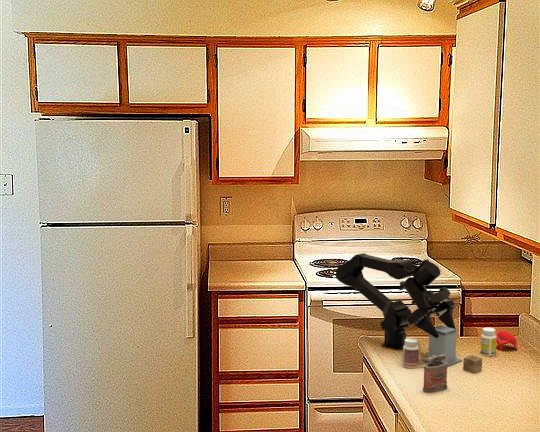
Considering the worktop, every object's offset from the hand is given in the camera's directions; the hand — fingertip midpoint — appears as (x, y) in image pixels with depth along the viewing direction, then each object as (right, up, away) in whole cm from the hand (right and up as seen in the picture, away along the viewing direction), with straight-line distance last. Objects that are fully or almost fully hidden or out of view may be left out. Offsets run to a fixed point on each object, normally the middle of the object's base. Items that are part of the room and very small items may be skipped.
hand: (446, 334), depth 222 cm
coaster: (-1, -9, +2) cm, 9 cm away
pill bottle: (-12, -10, -2) cm, 15 cm away
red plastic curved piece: (+23, -7, +14) cm, 28 cm away
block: (+7, -10, -6) cm, 13 cm away
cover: (-1, -8, +2) cm, 9 cm away
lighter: (-8, -12, -20) cm, 25 cm away
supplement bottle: (+16, -8, +9) cm, 20 cm away
